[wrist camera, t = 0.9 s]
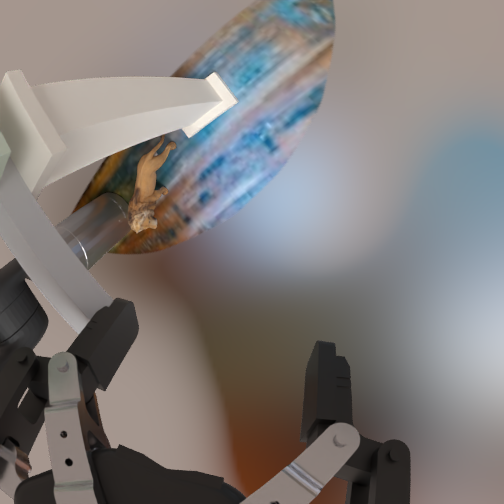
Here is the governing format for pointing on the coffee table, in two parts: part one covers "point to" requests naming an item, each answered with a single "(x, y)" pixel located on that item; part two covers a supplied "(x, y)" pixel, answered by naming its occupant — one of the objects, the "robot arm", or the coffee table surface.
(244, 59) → the coffee table surface
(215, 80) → the stand
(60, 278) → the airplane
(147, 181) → the lion figurine
